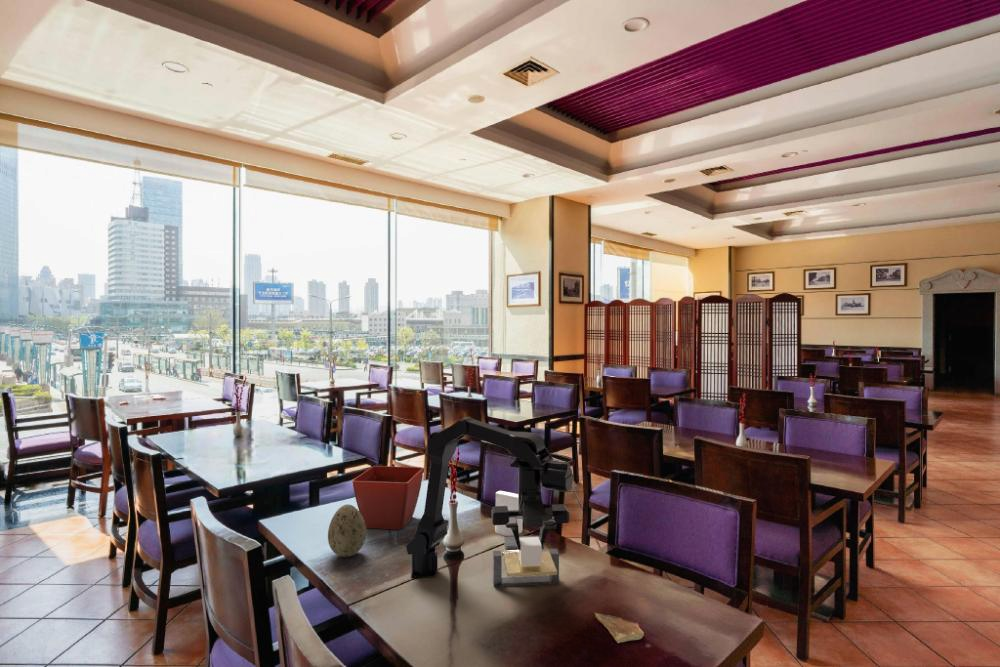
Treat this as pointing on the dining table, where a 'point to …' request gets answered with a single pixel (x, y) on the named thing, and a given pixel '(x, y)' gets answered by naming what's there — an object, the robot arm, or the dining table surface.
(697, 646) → the dining table surface
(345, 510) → the decorative egg
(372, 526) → the plant pot
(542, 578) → the frame
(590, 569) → the dining table surface
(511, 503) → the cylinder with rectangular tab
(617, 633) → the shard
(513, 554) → the trapdoor
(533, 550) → the cube
